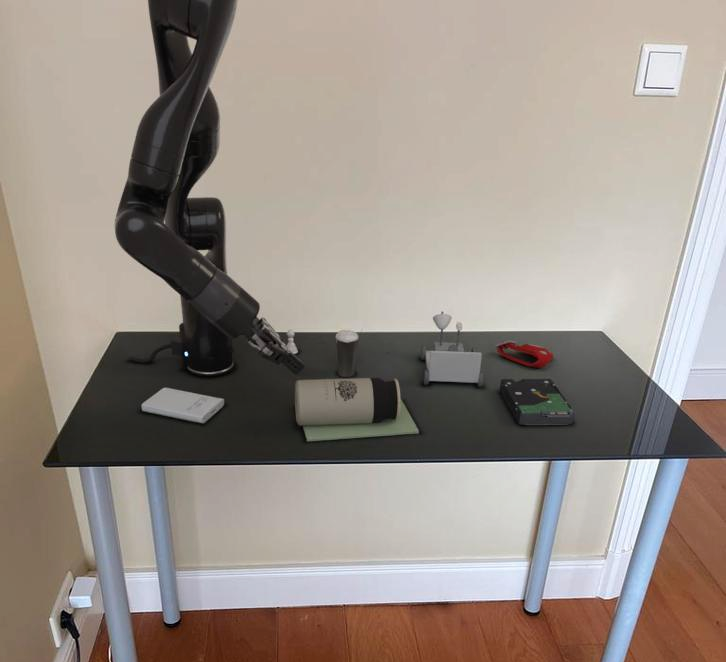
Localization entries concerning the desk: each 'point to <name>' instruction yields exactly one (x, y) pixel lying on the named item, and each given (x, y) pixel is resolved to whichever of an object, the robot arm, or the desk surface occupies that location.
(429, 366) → the toy car
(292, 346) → the chess pawn
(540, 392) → the disk drive
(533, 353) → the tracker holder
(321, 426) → the mat
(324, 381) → the travel mug
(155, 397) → the hard drive
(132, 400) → the desk surface
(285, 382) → the desk surface
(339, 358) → the milkshake
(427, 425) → the desk surface
